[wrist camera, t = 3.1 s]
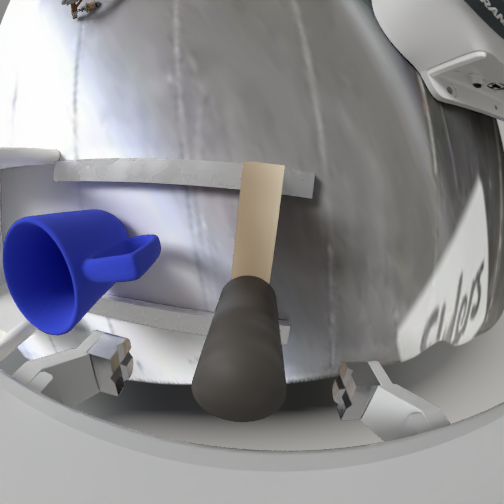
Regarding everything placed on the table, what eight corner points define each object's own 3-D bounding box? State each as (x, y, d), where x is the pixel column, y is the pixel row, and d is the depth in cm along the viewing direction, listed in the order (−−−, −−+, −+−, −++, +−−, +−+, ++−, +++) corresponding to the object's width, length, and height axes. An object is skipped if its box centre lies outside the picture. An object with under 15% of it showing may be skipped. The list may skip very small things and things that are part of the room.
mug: (189, 280, 23) (148, 343, 14) (83, 287, 24) (22, 331, 14) (174, 186, 21) (114, 192, 12) (66, 208, 22) (-7, 227, 12)
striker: (282, 172, 20) (331, 152, 6) (259, 341, 23) (257, 485, 10) (242, 167, 20) (204, 137, 6) (226, 337, 23) (197, 478, 10)
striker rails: (312, 173, 21) (315, 173, 20) (285, 338, 25) (286, 344, 24) (60, 161, 21) (54, 161, 20) (66, 300, 25) (61, 304, 24)
